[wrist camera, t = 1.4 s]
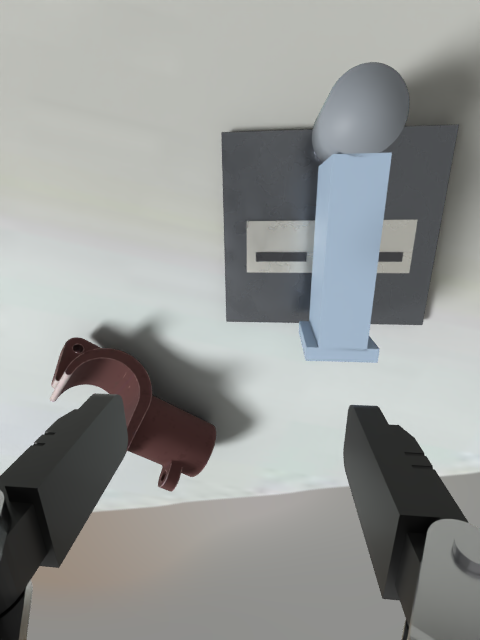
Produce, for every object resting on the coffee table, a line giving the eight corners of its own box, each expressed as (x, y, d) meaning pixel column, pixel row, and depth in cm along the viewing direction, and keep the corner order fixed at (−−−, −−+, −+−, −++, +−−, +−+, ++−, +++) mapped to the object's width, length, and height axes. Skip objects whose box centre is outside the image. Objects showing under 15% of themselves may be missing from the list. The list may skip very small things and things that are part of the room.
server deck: (223, 128, 26) (215, 115, 23) (452, 120, 25) (482, 105, 21) (227, 318, 32) (222, 331, 28) (417, 321, 30) (436, 335, 27)
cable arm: (310, 99, 22) (323, 64, 17) (383, 96, 21) (419, 59, 16) (298, 332, 27) (305, 360, 22) (356, 333, 27) (377, 362, 22)
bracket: (78, 321, 30) (8, 416, 23) (225, 398, 36) (205, 495, 29) (63, 351, 34) (-2, 441, 27) (198, 417, 40) (174, 506, 32)
